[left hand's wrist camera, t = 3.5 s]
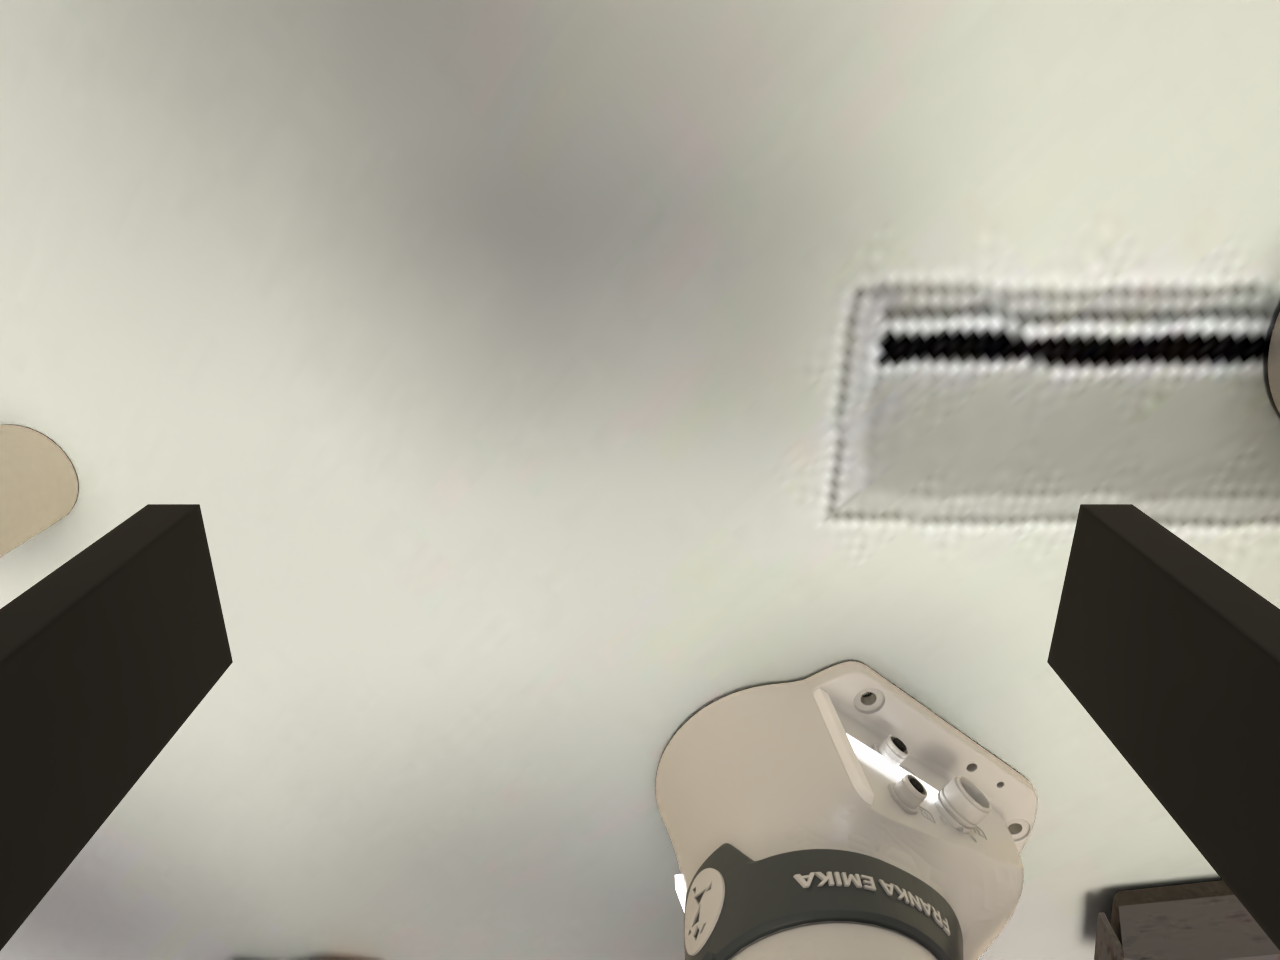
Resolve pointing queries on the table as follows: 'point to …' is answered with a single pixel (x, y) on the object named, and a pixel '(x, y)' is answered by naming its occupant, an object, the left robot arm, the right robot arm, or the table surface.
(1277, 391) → the bust sculpture
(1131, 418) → the table surface
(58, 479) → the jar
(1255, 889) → the left robot arm
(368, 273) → the table surface
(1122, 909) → the toy
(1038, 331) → the table surface
